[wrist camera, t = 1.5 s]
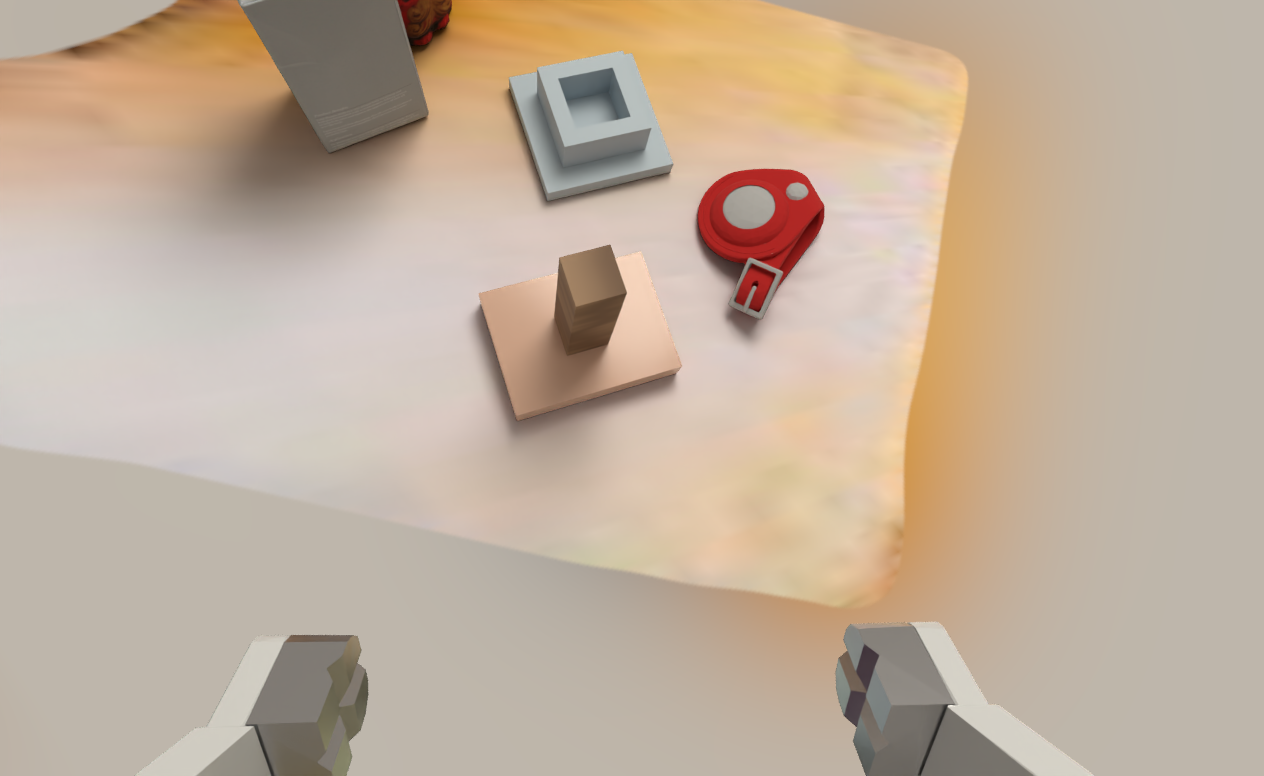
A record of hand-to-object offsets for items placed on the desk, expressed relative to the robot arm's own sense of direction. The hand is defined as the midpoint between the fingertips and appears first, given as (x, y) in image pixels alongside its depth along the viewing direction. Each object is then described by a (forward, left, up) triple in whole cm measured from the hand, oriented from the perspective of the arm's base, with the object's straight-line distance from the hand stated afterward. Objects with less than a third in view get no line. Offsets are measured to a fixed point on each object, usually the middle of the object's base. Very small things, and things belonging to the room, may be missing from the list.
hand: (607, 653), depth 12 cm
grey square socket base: (+13, +31, -36) cm, 49 cm away
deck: (+7, +15, -36) cm, 40 cm away
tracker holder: (+22, +19, -36) cm, 46 cm away
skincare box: (-3, +37, -36) cm, 52 cm away
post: (+7, +15, -34) cm, 38 cm away
